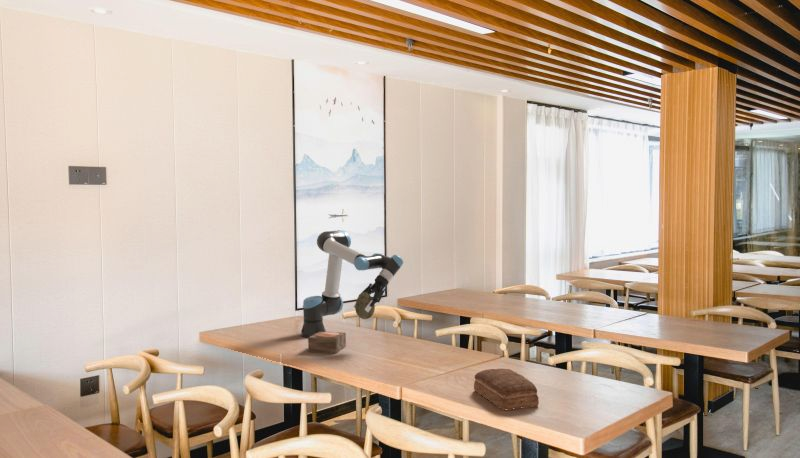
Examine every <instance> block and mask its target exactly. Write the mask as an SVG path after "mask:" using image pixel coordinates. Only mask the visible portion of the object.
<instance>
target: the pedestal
mask: <svg viewBox="0 0 800 458" xmlns="http://www.w3.org/2000/svg"><path fill="white" fill-rule="evenodd" d="M346 335H347V334H346V332H338V331H337V332H336V331H326V332H318V333H316V334H314V335H312V336H310V337H307V338H308V339H307V346H308V353H313V354H314V353H316V354H317V353H319V354H338V353H339V352H341V351H342V350H343V349H345V348H346V347H347V345H346V344H347V340H346V339H347V337H346Z"/></svg>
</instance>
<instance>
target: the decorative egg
mask: <svg viewBox="0 0 800 458" xmlns="http://www.w3.org/2000/svg"><path fill="white" fill-rule="evenodd" d="M360 293H361V294H360ZM360 293H359V294H360V295H359V294H358V296H357V297H356V298H357V299H356V301H355V303H354V305H355V308H354V310H355V313H356V315H357V317H359V318H361V320H367V319H370V318H371V317H372V316H374V313H375V310H376V309H375V308H376V306H375V304H374V306H373V307H372V308H371V309H370V311H369V312H367V311H366V310H365V308H366V307H367V305H368V304H369V302H370V301H371V300H372V299H373V297H372V296H371V294H370V295H369V294H368V293H367V292H363V291H361V292H360Z"/></svg>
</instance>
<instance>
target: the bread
mask: <svg viewBox="0 0 800 458" xmlns="http://www.w3.org/2000/svg"><path fill="white" fill-rule="evenodd" d="M474 380H475V381H474V384H473V390H474V392H475V391H476V393H477V392H478V393H479V394H480V396H481V395H482V396H483V398H484V397H485V398H486V399H485V398H484V399H485V400H487V399H488V400H489V401H488V400H487V401H488V402H490V403H491V402H492V403H493V404H492V403H491V404H492V405H494V404H495V405H497V406H498V407H500V408H501V409H500V408H499V409H500V410H502V409H504V410H505V409H513V408H521V407H530V408H533V407H532V406H536V407H538V406H539V404H540V403H539V402H540V401H539V396H538V388H537V387H536V385H535V384H534V383H533V382H532V381H530V380H529V379H528V378H527V377H525V376H523V375H522V374H519V373H518V372H517V371H514V370H512V369H510V368H490V369H489V368H488V369H483V370H481V371H479V372H477V373H476V374H475V375H474ZM478 393H477V394H478ZM479 394H478V395H479ZM482 396H481V397H482ZM495 405H494V406H495ZM497 406H496V407H497ZM498 407H497V408H498ZM521 409H522V408H521ZM504 410H503V411H504ZM513 410H514V409H513ZM505 411H506V410H505Z"/></svg>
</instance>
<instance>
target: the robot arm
mask: <svg viewBox="0 0 800 458" xmlns="http://www.w3.org/2000/svg"><path fill="white" fill-rule="evenodd" d="M351 239H352V238H351V237H350V234H349V233H348V232H347V231H345V230H330V231H323V232H321V233H319V235H318V236H317V239H316V246H317V247H318V248H319V249H320V250H321V251H322V252H324V253H326V254H328V260H327V261H328V262H327V271H326V278H325V286H324V287H325V288H324V291H322V292H321V295H312V296H308V297H306V298H305V299H303V305H302V309H303V311H302V312H303V325H302V328H301V330H300V336H301V337H304V338H309V337H310V336H312V335H314V334H316V333H318V332H327V331H326V330H327V329H326V328H325V325H324V322H323V320H324V318H323V317H326V316H332V315H333V316H334V315H336V314H339V313H340V312H341V311H342V310H343V308H344V300H343V297H342V296H341V293H340V291H339V289H340V282H341V274H342V267H343V266H342V264H343V260H344V261H346V262H348V263H350V264H352V265H354V268H355V269H356V270H357V271H367V270H373V269H376V270H377V269H381V271H380V272H379V273H378V275H377V276H375V278H374V283H373V284H372V283H371V282H370V283H369V285H368V286H366V288H365V289H364V290H363V291H362V292H367V293H368V294H369V295H370V296H371V294H373V297H372V300H371V301H370V302H369V304H368V305H367V307H366V308H365V310H366V311H367V312H369V311H370V309H371V308H372V307H373V306H374V305H375V304H377V303H378V304H379V303H380V302H381V300H382V298H383V295H384V293H385V291H386V290H387V286H389V284H390V282H391V281H392V280H393V278H394V276H395V275H396V274H397V272H399V270H400V269H401V267H402V266H403V265H404V260H403V258H402V257H400V256H399V255H398V254H393V255H392V256H391V257H390V256H386V255H385V254H382V253H373V254H372V255H365V254H363V253H361V252H359V251H356V250H354V249H352V248H351V247H350V246H351V244H352V241H351ZM362 292H360V293H359V294H358V296H359V295H360V294H361V293H362ZM353 308H354V309H355V304H354V305H353Z"/></svg>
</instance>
